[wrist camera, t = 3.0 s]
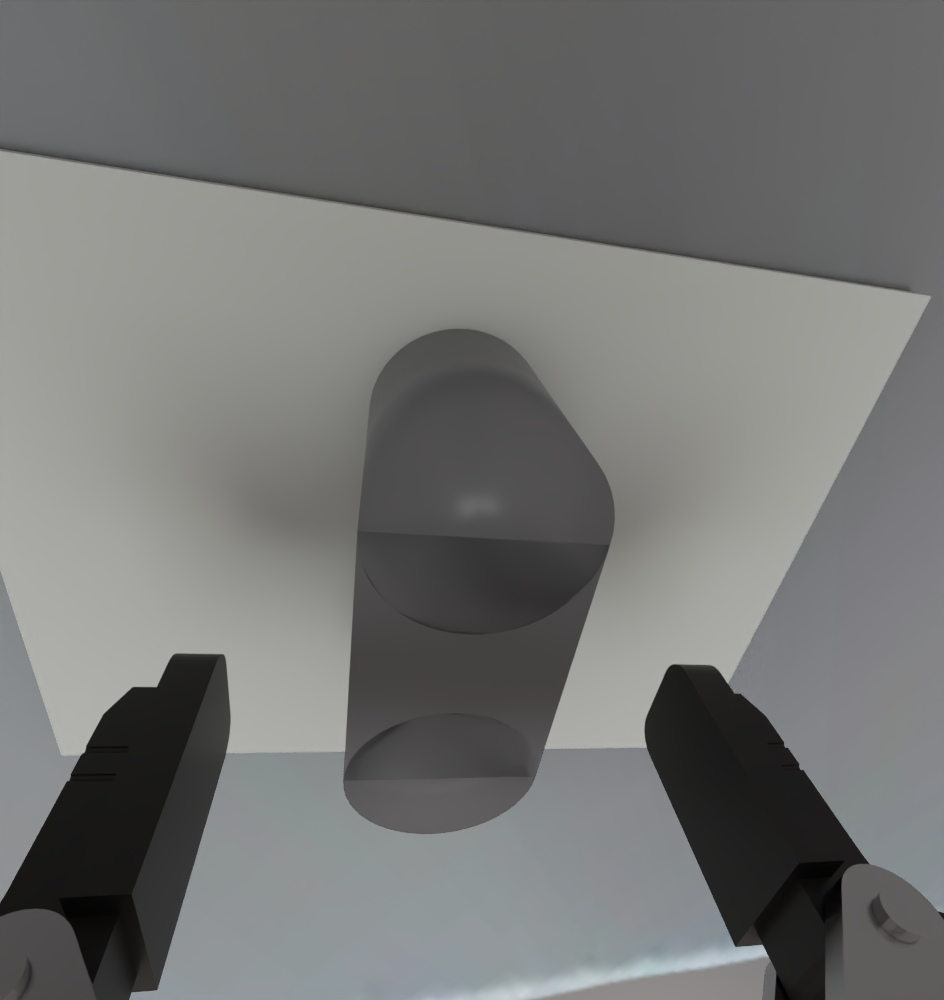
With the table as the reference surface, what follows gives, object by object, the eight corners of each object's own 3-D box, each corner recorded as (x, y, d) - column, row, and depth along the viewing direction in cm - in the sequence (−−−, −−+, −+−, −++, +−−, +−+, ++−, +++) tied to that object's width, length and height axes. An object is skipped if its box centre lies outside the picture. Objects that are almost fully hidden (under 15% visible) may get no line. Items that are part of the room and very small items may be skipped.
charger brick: (374, 317, 12) (364, 404, 7) (558, 339, 12) (647, 431, 8) (351, 710, 17) (337, 885, 13) (476, 710, 18) (503, 876, 14)
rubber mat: (-118, 130, 10) (-146, 128, 9) (910, 291, 13) (931, 296, 13) (71, 738, 17) (61, 755, 17) (687, 732, 21) (694, 746, 21)
